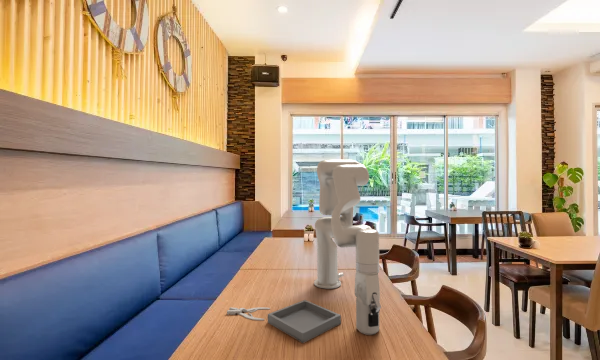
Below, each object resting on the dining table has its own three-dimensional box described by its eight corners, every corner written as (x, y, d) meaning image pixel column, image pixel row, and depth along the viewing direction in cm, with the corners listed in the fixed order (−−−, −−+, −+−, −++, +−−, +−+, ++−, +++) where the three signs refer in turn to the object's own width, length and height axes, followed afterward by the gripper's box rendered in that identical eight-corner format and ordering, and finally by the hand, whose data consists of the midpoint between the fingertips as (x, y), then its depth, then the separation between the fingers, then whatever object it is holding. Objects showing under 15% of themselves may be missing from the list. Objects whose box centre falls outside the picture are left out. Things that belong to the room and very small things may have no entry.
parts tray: (305, 307, 119) (305, 299, 118) (340, 323, 105) (340, 314, 105) (267, 322, 106) (267, 314, 106) (302, 343, 93) (302, 333, 93)
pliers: (263, 317, 108) (223, 315, 110) (263, 321, 108) (223, 319, 110) (270, 305, 118) (232, 303, 120) (270, 309, 118) (232, 307, 120)
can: (364, 322, 106) (364, 288, 106) (383, 330, 101) (383, 294, 100) (351, 330, 101) (351, 294, 101) (371, 338, 95) (371, 300, 95)
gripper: (347, 260, 108) (347, 310, 108) (368, 276, 91) (368, 334, 91) (366, 259, 110) (366, 307, 110) (391, 274, 93) (391, 331, 93)
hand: (367, 319), depth 101 cm, fingers closed on can, 7 cm apart
